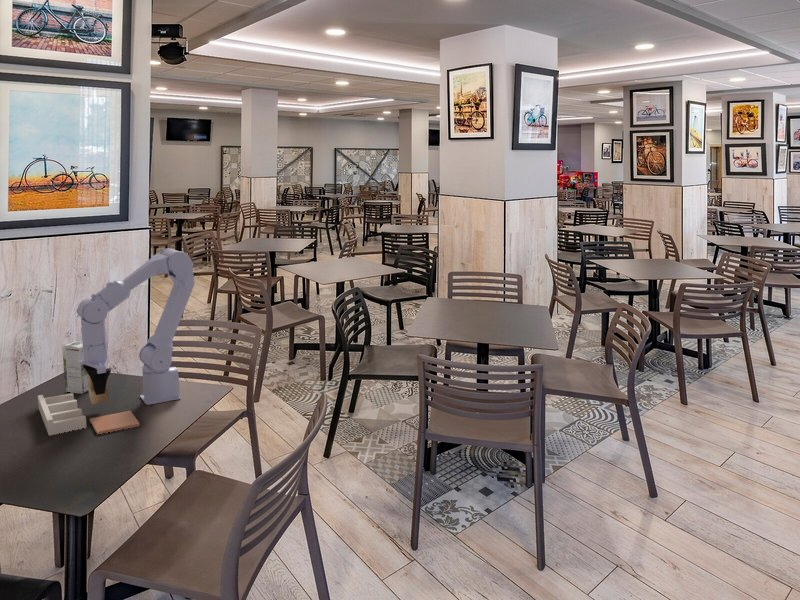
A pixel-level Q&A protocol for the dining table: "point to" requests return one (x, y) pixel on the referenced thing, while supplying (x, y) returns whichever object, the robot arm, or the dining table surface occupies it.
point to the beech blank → (92, 395)
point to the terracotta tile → (114, 422)
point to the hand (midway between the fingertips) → (98, 391)
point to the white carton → (74, 368)
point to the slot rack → (61, 414)
